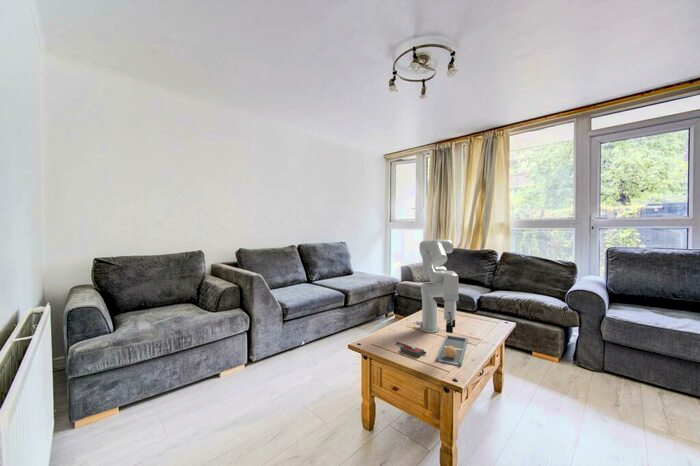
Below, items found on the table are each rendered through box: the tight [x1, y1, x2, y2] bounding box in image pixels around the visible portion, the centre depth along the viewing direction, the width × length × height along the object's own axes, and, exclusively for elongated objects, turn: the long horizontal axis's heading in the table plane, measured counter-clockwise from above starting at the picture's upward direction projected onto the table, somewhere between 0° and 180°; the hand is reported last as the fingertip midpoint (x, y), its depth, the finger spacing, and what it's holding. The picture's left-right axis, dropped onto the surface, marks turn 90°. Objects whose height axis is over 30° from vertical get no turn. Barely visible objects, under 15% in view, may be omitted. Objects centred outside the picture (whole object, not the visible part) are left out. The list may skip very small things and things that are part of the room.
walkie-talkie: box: [395, 341, 427, 359], centre depth 160 cm, size 9×4×20 cm
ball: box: [444, 346, 457, 358], centre depth 151 cm, size 6×6×6 cm
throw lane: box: [435, 334, 468, 367], centre depth 160 cm, size 12×35×2 cm, turn 153°
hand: (450, 329), depth 150 cm, fingers open, 9 cm apart
